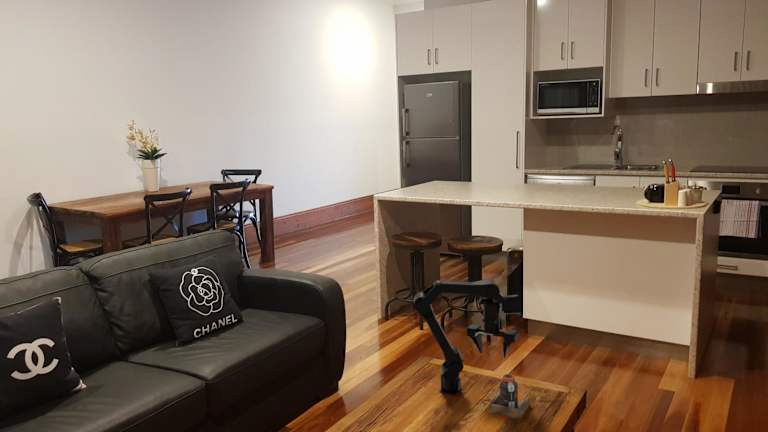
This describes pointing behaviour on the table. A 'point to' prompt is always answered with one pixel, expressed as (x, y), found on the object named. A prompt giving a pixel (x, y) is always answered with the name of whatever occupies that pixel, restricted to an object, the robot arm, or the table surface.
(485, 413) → the table surface
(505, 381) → the pill bottle
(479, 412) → the table surface
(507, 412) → the box
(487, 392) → the table surface
